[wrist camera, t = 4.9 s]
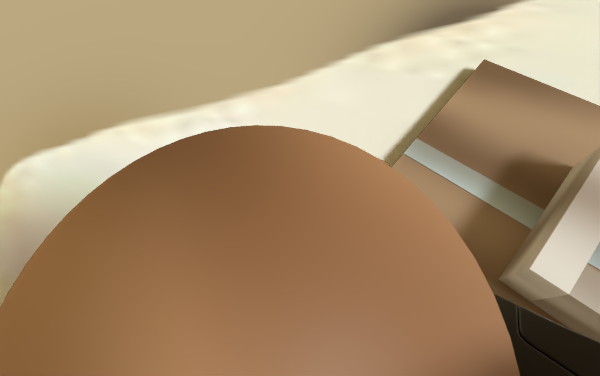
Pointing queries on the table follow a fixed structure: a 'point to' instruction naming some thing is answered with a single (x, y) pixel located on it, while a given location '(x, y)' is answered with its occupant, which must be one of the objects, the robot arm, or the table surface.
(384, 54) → the table surface
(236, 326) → the tapered tan cup
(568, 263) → the brown board with rail
